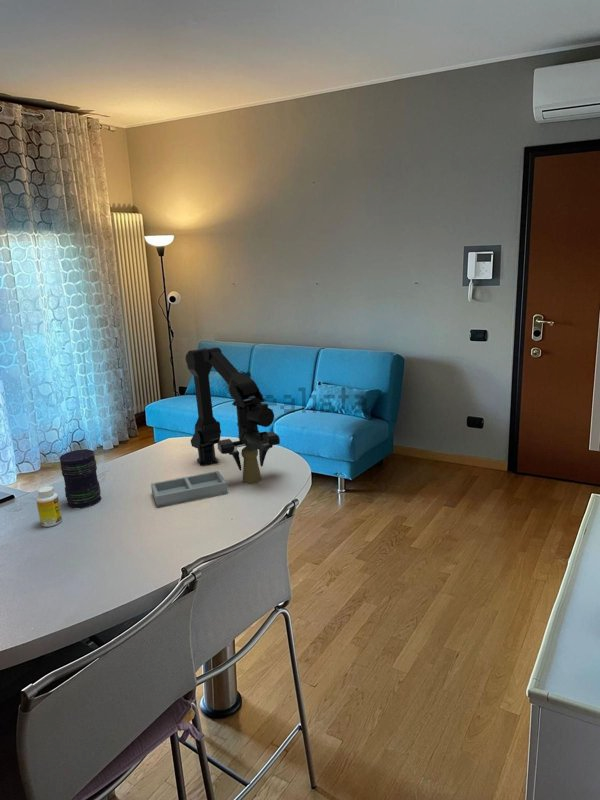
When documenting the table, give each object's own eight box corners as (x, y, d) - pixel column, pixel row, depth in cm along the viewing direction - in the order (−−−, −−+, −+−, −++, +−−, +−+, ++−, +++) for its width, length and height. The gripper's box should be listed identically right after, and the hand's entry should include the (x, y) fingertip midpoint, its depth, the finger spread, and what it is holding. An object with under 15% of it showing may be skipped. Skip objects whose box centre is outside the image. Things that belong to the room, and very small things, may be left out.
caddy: (152, 494, 178) (150, 483, 177) (219, 480, 185) (218, 470, 184) (157, 507, 168) (155, 496, 167) (227, 493, 175) (226, 482, 174)
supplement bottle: (60, 525, 160) (54, 491, 158) (39, 529, 159) (32, 494, 157) (63, 517, 166) (57, 483, 163) (42, 520, 164) (36, 486, 162)
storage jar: (59, 505, 174) (51, 458, 170) (85, 492, 182) (78, 447, 178) (83, 510, 169) (75, 462, 165) (108, 497, 177) (101, 451, 174)
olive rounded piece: (262, 476, 187) (260, 443, 184) (259, 483, 181) (257, 450, 178) (244, 476, 187) (241, 444, 185) (240, 484, 182) (237, 450, 179)
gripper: (223, 432, 169) (228, 482, 173) (284, 422, 175) (287, 471, 179) (214, 423, 179) (219, 470, 183) (272, 413, 185) (275, 459, 189)
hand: (250, 468), depth 183 cm, fingers open, 7 cm apart
